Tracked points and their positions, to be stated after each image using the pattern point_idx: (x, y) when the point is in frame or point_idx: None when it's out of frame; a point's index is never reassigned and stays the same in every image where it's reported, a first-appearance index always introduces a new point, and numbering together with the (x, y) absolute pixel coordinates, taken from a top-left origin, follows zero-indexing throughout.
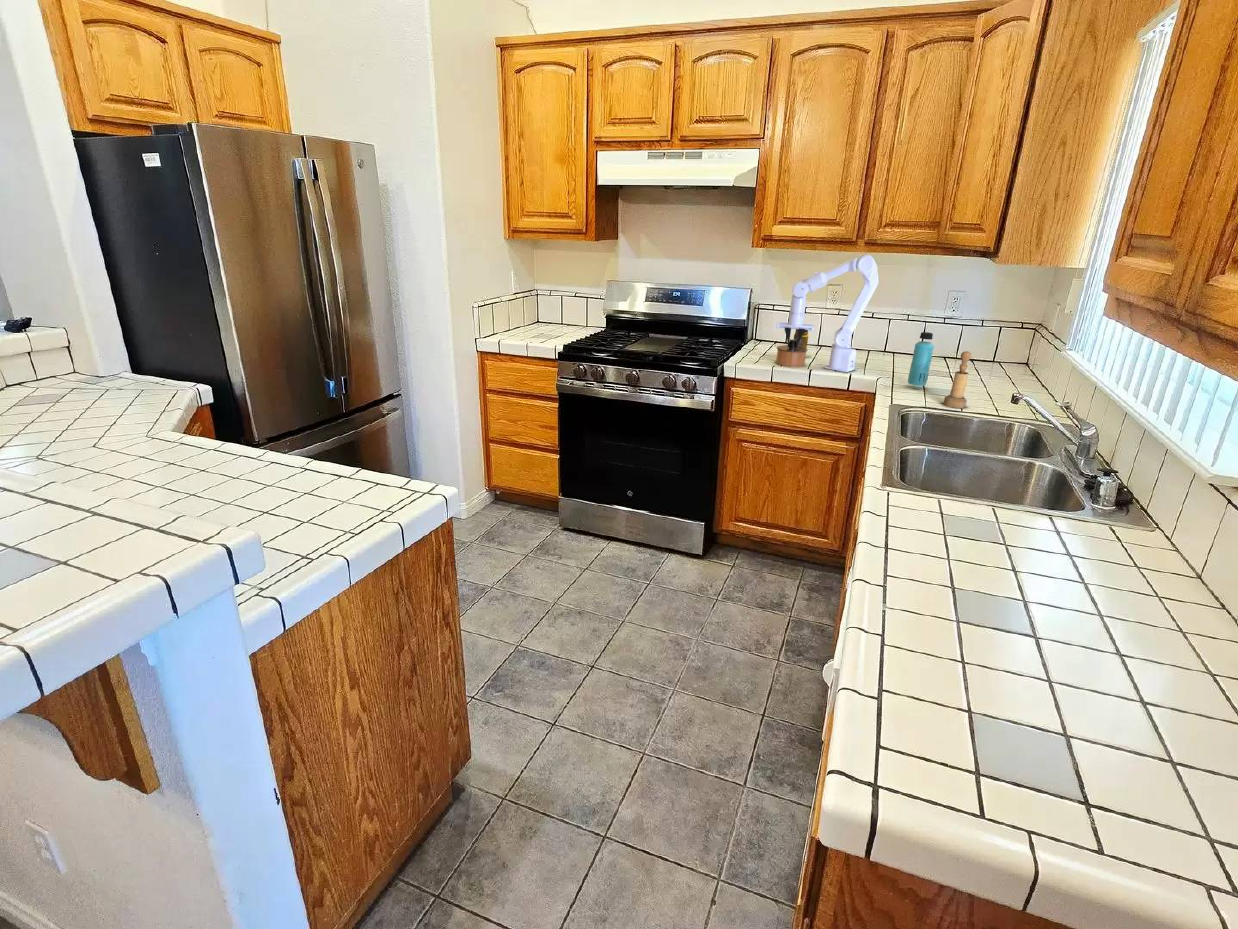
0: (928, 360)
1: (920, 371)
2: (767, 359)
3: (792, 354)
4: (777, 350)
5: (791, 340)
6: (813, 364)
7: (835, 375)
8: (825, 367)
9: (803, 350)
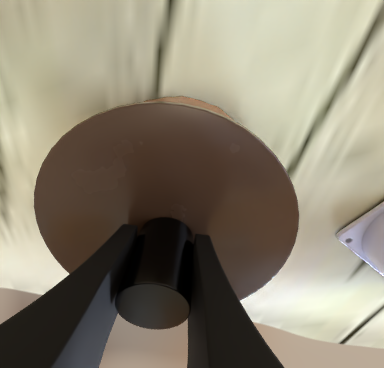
0: None
1: None
2: (38, 87)
3: None
4: None
5: (132, 320)
6: (316, 160)
7: (319, 315)
8: (339, 240)
9: (242, 286)
